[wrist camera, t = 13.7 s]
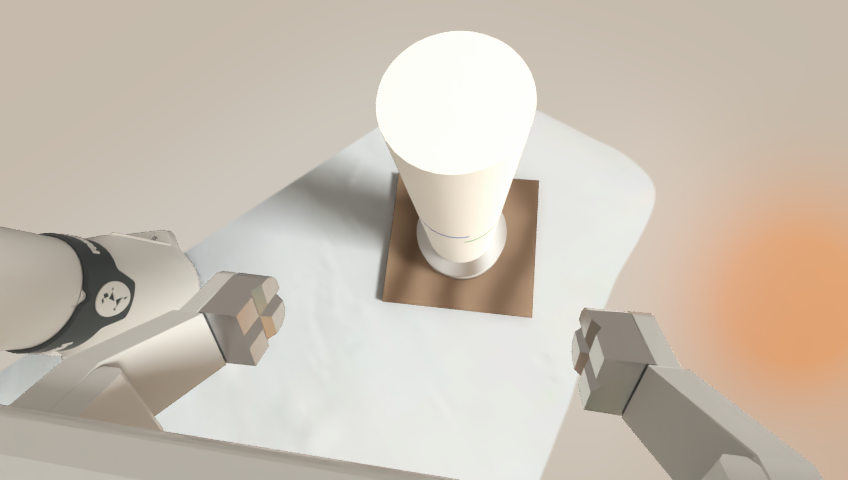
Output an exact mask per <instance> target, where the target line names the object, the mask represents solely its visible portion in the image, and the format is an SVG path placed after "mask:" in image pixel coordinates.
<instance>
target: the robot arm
mask: <svg viewBox="0 0 848 480" xmlns="http://www.w3.org/2000/svg"><path fill="white" fill-rule="evenodd" d="M156 239H157V241H156ZM278 290H279V286H278V283H277V280H276V279H275V278H273V277H270V276H262V275H254V274H246V273H234V272H227V271H222V272H219V273H216V274H215V275H214V276H213V277H212V278H211V279H210V280H209V281H208V282H207V283H206V284H205V285H204V286H203V287H202V288H201V289H200V284H199V279H198V275H197V272H196V269H195V267H194V266H193V264H192V263H191V261H190V260H189V259H188V258H187V257H186V256H185V255H184V254H183V253H182V252H181V250H180V249H179V247H178V243H177V241H176V238H175V236H174V234H173V233H172V232H170V231H165V230H159V231H150V232H141V233H133V234H120V233H111V234H110V235H104V236H96V237H91V238H86V239H83V238H80V237H77V236H73V235H64V234H55V233H43V234H34V233H29V232H24V231H20V230H14V229H10V228H5V227H0V351H2V350H5V351H8V352H12V353H28V354H43V355H47V356H62V357H61V359H62V360H63V361H62V362H61V363H59V364H58V365H57V366H56V367H55V368H53V369H52V370H51V371H50V372H49V373H47V374H46V375H45V376H44V377H43V378H41V379H40V380H39V381H38V382H37V383H35V384H34V385H33V386H32V387H31V388H29V389H28V390H27V391H26V392H25V393H23V394H22V395H21V396H20V397H19V398H18V399H16V400H15V401H14V402H13V403H12V404H10V405H9V406H7V405H1V404H0V480H459V479H453V478H447V477H441V476H434V475H428V474H422V473H416V472H410V471H404V470H398V469H392V468H386V467H380V466H373V465H367V464H361V463H355V462H349V461H343V460H336V459H330V458H324V457H318V456H312V455H306V454H300V453H293V452H287V451H281V450H275V449H269V448H263V447H257V446H251V445H245V444H238V443H232V442H226V441H220V440H214V439H208V438H202V437H196V436H190V435H183V434H177V433H171V432H165V431H163V428H162V426H161V425H160V423H159V422H158V421H157V419H156V418H155V417H154V416H156V415H157V414H158V413H160V412H161V411H163V410H164V409H165V408H167V407H168V406H169V405H171V404H172V403H174V402H175V401H176V400H178V399H179V398H180V397H182V396H183V395H185V394H186V393H187V392H189V391H190V390H191V389H193V388H194V387H196V386H197V385H198V384H200V383H201V382H203V381H204V380H205V379H207V378H208V377H209V376H211V375H212V374H214V373H215V372H216V371H218V370H219V369H220V368H222V367H223V366H225V365H226V363H233V364H243V365H252V366H256V365H257V363H258V362H259V360H260V359H261V357H262V356H263V354H264V353H265V351H266V350H267V348H268V347H269V344H268V339H269V338H270V337H272V336H273V335H275V334H277V333H278V331H279V329H280V328H281V326H282V323H283V320H284V316H285V306H284V303H283V300H282V299H281V298H280V297H279V296H278V295H277V294H276V293H277V291H278ZM579 321H580V324H581V328H580V329H578V330H577V331H575V334H574V337H573V341H572V361H573V365H574V369H575V370H576V371H577V372H578V373H579V374H580V375H581V378H580V380H579V383H578V387H579V392H580V396H581V400H582V404H583V408H584V410H589V411H596V412H602V413H608V414H614V415H621V416H622V418H623V420H624V421H625V422H626V423H627V425H628V426H629V427H630V428H631V429H632V431H633V432H634V433H635V434H636V435H637V437H638V438H639V439H640V440H641V442H642V443H643V444H644V445H645V447H646V448H647V449H648V450H649V451H650V453H651V454H652V455H653V456H654V457H655V458H656V460H657V461H658V462H659V464H660V465H661V466H662V467H663V468H664V469H665V471H666V472H667V473H668V474H669V476H670V477H671V478H672V479H673V480H824V479H823V477H822V476H821V474H820V473H819V471H818V470H817V468H816V467H815V466H814V465H813V464H812V463H811V462H810V461H808V460H807V459H805V458H804V457H803V456H802V455H800V454H799V453H798V452H796V451H795V450H794V449H792V448H791V447H790V446H788V445H787V444H786V443H785V442H783V441H782V440H781V439H779V438H778V437H777V436H776V435H774V434H773V433H772V432H770V431H769V430H768V429H766V428H765V427H763V426H762V425H761V424H760V423H759V422H757V421H756V420H755V419H753V418H752V417H751V416H749V415H748V414H747V413H745V412H744V411H743V410H742V409H740V408H739V407H738V406H736V405H735V404H734V403H732V402H731V401H730V400H729V399H727V398H726V397H725V396H723V395H722V394H721V393H719V392H718V391H717V390H715V389H714V388H713V387H711V386H710V385H709V384H708V383H706V382H705V381H704V380H702V379H701V378H700V377H698V376H697V375H696V374H695V373H693V372H692V371H691V370H688V369H682V367H681V365H680V363H679V361H678V360H677V358H676V356H675V354H674V352H673V350H672V349H671V347H670V345H669V343H668V341H667V339H666V337H665V335H664V334H663V332H662V330H661V328H660V326H659V324H658V322H657V320H656V319H655V317H654V316H653V315H652V314H651V313H641V312H630V311H628V312H625V311H615V310H604V309H593V308H584V309H583V310H582V312H581V315H580V318H579Z"/></svg>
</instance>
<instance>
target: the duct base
mask: <svg viewBox="0 0 848 480" xmlns="http://www.w3.org/2000/svg"><path fill="white" fill-rule="evenodd" d="M538 188H539V181H537V180H521V179H513V180H512V183H511V186H510V189H509V192H508V195H507V197H506V200H505V203H504V206H503V209H502V212H501V215H500V218H499V221H498V224H497V226H496V229H495V232H494V235H493V238H492V241H491V244H490V245H489V247H488V249H487V250H486V251H485V252H484V254H483V255H481V256H480V257H479V258H477V259H475V260H473V261H470V262H466V263H456V262H451V261H448V260H446V259H444V258H443V257H441V256H440V255H439V254H438V253H437V252H436V251H435V250H434V248H433V247H432V245H431V243H430V240H429V238H428V236H427V234H426V232H425V229H424V227H423V225H422V223H421V220H420V218H419V216H418V213H417V211H416V209H415V207H414V204H413V202H412V200H411V198H410V196H409V193H408V191H407V189H406V187H405V185H404V182H403V180H402V178H401V176H400V173H399V177H398V184H397V192H396V200H395V207H394V215H393V222H392V230H391V238H390V245H389V253H388V260H387V268H386V276H385V283H384V291H383V299H382V301H384V302H393V303H402V304H411V305H420V306H429V307H438V308H448V309H457V310H466V311H475V312H484V313H493V314H502V315H511V316H521V317H530V318H532V309H533V288H534V268H535V248H536V228H537V208H538Z"/></svg>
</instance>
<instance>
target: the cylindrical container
mask: <svg viewBox="0 0 848 480" xmlns="http://www.w3.org/2000/svg"><path fill="white" fill-rule="evenodd" d="M536 103H537V96H536V88H535V83H534V80H533V77H532V74H531V72H530V70H529V68H528V67H527V65H526V63H525V62H524V60H523V59H522V58H521V57H520V56H519V55H518V54H517V53H516V52H515V51H514V50H513V49H512V48H511V47H509V46H508V45H506V44H505V43H503V42H501V41H500V40H498V39H495V38H493V37H490V36H488V35H485V34H481V33H476V32H471V31H452V32H444V33H440V34H437V35H433V36H429V37H427V38H425V39H423V40H421V41H419V42H416V43H414V44H413V45H412V46H410V47H409V48H408V49H406V50H405V51H404V52H402V53H401V54H400V55H399V56H398V57H397V58H396V59H395V60H394V61H393V62H392V64H391V65H390V66H389V68H388V69H387V71H386V73H385V74H384V76H383V78H382V81H381V83H380V86H379V88H378V93H377V99H376V115H377V120H378V124H379V128H380V130H381V133H382V135H383V137H384V139H385V142H386V144H387V146H388V148H389V151H390V153H391V155H392V157H393V160H394V162H395V164H396V166H397V169H398V171H399V173H400V176H401V178H402V180H403V182H404V185H405V187H406V189H407V191H408V193H409V196H410V198H411V200H412V202H413V204H414V207H415V209H416V211H417V213H418V216H419V218H420V220H421V223H422V225H423V227H424V229H425V232H426V234H427V236H428V238H429V240H430V243H431V245H432V247H433V248H434V250H435V251H436V252H437V253H438V254H439V255H440V256H441V257H443V258H444V259H446V260H448V261H451V262H456V263H466V262H470V261H473V260H475V259H477V258H479V257H480V256H481V255H483V254H484V252H485V251H486V250H487V249H488V247H489V245H490V244H491V241H492V238H493V235H494V232H495V229H496V226H497V224H498V221H499V218H500V215H501V212H502V209H503V206H504V203H505V200H506V197H507V195H508V192H509V189H510V186H511V183H512V180H513V177H514V174H515V171H516V169H517V166H518V163H519V160H520V157H521V154H522V151H523V148H524V146H525V143H526V140H527V137H528V134H529V131H530V128H531V125H532V122H533V119H534V116H535V112H536Z"/></svg>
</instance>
